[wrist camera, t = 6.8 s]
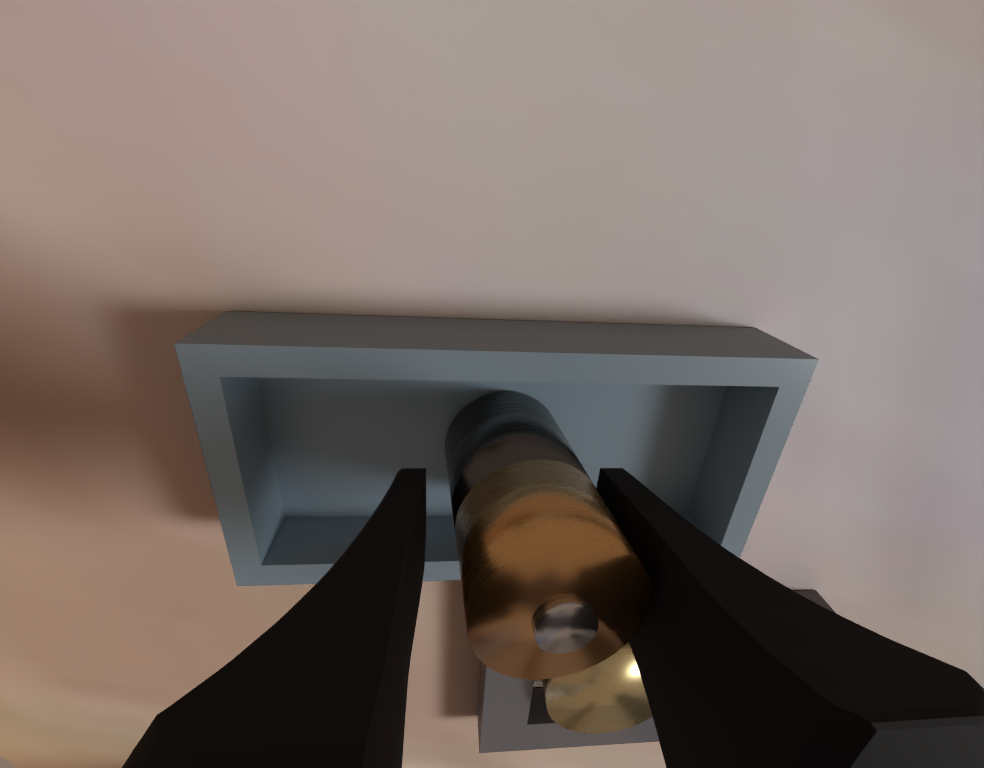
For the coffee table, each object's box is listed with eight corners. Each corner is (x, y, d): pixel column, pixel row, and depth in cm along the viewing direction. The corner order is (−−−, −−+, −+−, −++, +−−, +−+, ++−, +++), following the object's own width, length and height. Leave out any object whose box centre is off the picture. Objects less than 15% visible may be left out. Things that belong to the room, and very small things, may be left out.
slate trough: (269, 523, 15) (237, 585, 13) (227, 310, 12) (173, 343, 10) (694, 517, 17) (733, 572, 15) (756, 327, 14) (818, 359, 11)
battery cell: (444, 493, 14) (467, 707, 9) (444, 393, 13) (471, 568, 7) (551, 486, 15) (641, 681, 9) (563, 389, 14) (678, 548, 8)
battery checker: (477, 716, 21) (481, 794, 19) (488, 564, 17) (495, 637, 14) (758, 700, 23) (800, 771, 20) (833, 556, 19) (898, 621, 16)
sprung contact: (536, 716, 19) (540, 737, 19) (550, 637, 17) (554, 657, 16) (650, 709, 20) (658, 729, 19) (678, 632, 18) (688, 651, 17)
